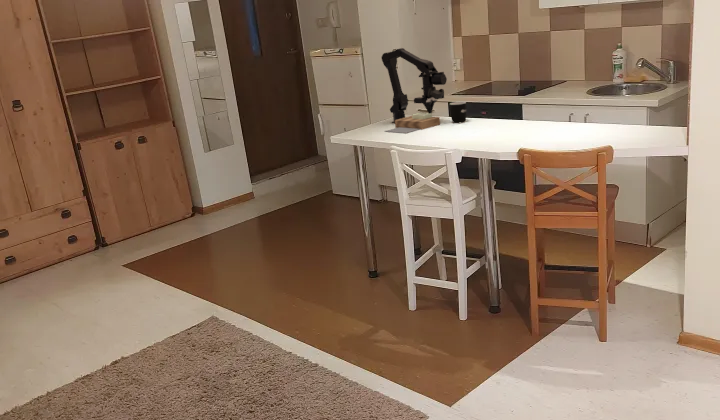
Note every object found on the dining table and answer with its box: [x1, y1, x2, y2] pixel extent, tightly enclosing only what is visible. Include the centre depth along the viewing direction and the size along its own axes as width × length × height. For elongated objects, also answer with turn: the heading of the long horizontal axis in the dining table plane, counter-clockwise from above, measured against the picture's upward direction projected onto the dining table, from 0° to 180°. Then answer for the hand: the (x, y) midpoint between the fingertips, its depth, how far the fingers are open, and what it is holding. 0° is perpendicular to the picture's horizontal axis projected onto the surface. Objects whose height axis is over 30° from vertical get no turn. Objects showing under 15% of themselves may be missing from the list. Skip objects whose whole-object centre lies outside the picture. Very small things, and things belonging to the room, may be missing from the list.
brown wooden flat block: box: [394, 115, 441, 130], centre depth 357 cm, size 20×14×4 cm
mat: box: [384, 127, 421, 134], centre depth 349 cm, size 16×11×1 cm
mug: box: [449, 101, 467, 124], centre depth 356 cm, size 12×9×10 cm
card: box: [411, 112, 433, 119], centre depth 358 cm, size 9×6×2 cm, turn 41°
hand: (430, 113), depth 362 cm, fingers closed
